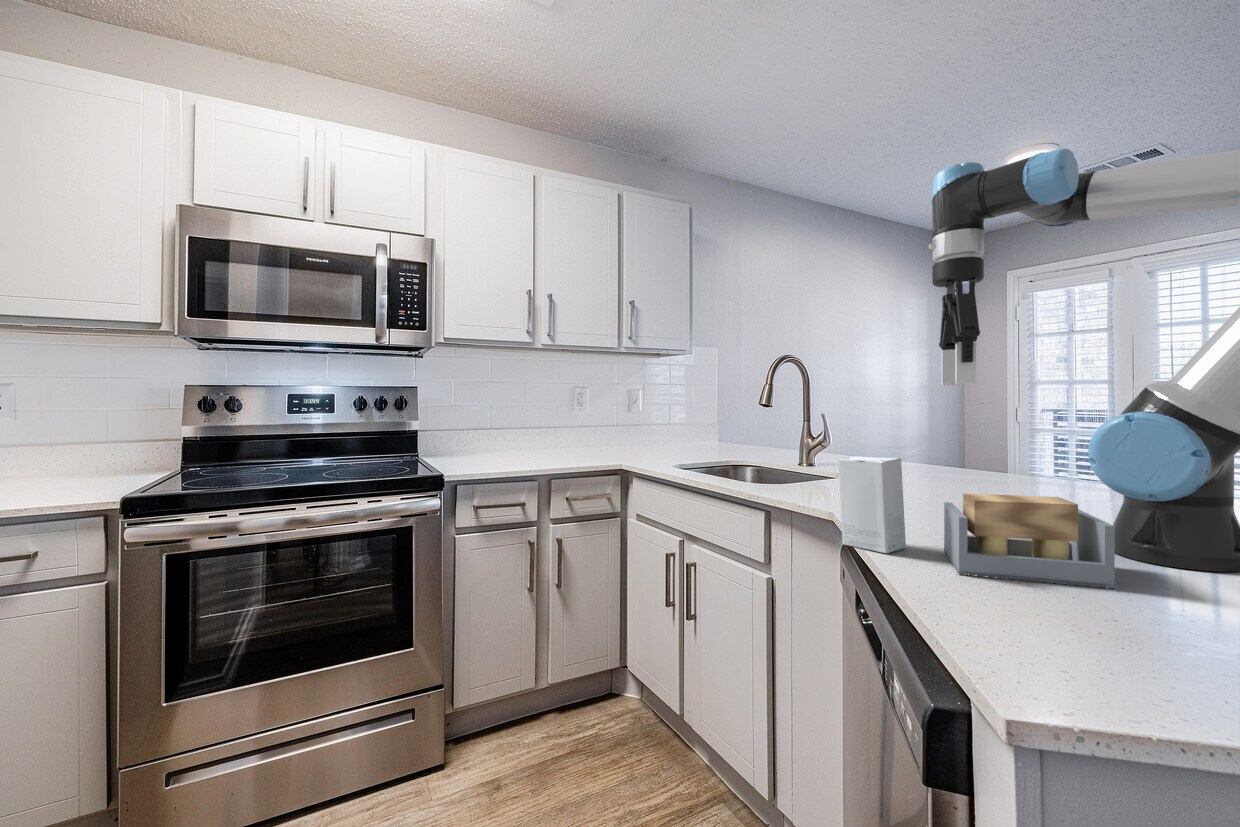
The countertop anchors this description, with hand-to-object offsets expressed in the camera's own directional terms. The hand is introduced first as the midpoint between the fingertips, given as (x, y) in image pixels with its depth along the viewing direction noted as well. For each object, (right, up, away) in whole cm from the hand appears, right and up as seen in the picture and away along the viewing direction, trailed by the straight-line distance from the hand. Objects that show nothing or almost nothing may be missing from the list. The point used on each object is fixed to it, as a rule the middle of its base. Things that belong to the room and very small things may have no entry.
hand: (957, 384), depth 94 cm
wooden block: (-1, -22, -16) cm, 27 cm away
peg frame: (-1, -27, -16) cm, 32 cm away
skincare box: (-16, -27, -3) cm, 32 cm away
